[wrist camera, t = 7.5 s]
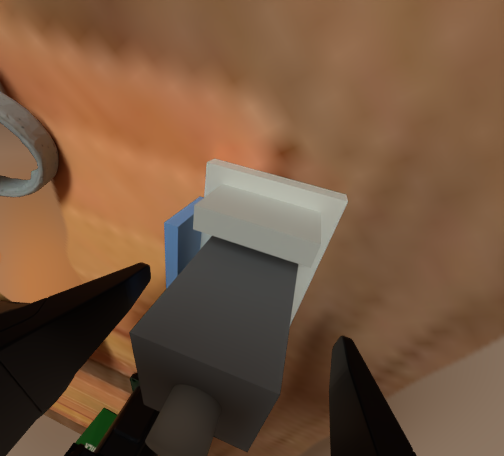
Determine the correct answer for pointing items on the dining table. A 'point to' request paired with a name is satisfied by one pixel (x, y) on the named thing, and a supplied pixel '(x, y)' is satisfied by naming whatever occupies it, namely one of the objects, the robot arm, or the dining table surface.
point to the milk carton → (97, 430)
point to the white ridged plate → (256, 220)
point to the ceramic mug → (35, 140)
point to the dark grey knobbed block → (215, 348)
